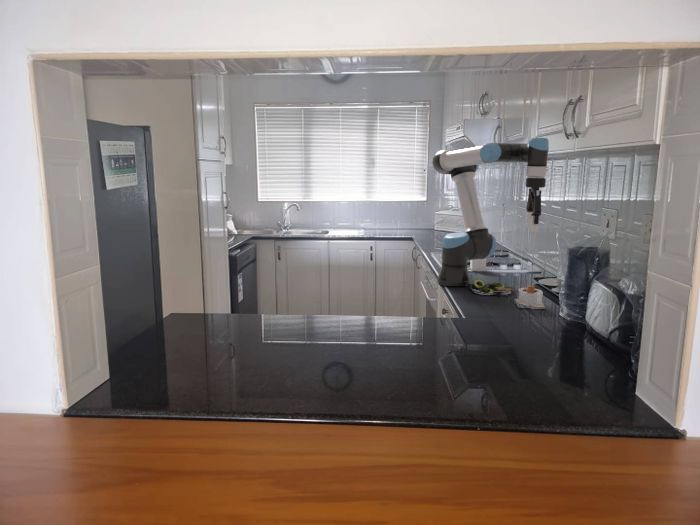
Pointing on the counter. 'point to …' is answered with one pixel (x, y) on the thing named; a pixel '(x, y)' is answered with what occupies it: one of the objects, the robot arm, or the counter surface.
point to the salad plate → (489, 287)
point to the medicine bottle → (478, 264)
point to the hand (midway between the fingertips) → (531, 229)
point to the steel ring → (529, 297)
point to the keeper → (531, 289)
